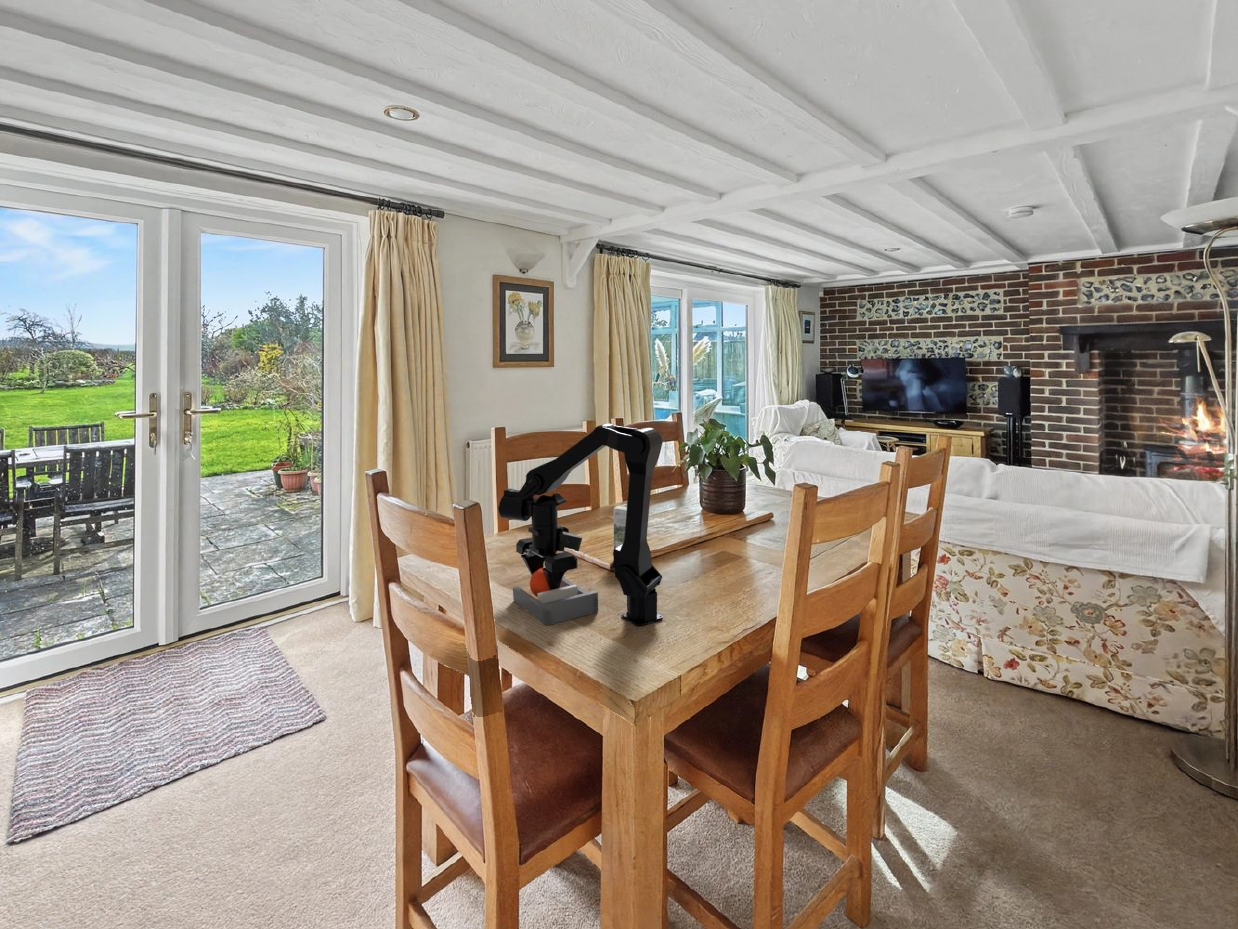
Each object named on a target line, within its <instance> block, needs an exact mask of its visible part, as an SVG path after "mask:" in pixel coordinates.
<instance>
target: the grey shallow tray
mask: <svg viewBox="0 0 1238 929" xmlns="http://www.w3.org/2000/svg"><path fill="white" fill-rule="evenodd" d="M562 581H563V582H562ZM562 581H561V587H560V588H562V587H566V586H571V585H576V586H578V595H575V596H571V597H567V598H563V599H559V600H555V601H551V602H547V603H541V602H540V601H538V600H537V597H536V598H535V597H534V596H532V594H530V593H529V592H527V591H525V590H524V589H523V588H521V587H520V586H518V585H517V586H513V587H512V594H513V595H512V596H513V598H512V599H513V600H514V601H515V602H514V601H513V602H514V603H516V604H517V603H518V604H519V607H521V608H522V609H523V610H525V611H526V612H528V613H529V614H530V613H531V614H530V615H532V614H533V615H534V616H535V617H534V616H533V615H532V616H533V617H534V618H535V619H537V620H538V619H539V620H538V621H539V622H541V623H542V624H544V625H545V626H546V627H547V626H550V625H551V626H552V625H554V624H557V623H558V622H559V623H561V622H565V621H569V620H573V619H577V618H580V617H584V616H588V615H592V614H595V613H598V612H599V592H598V591H596V590H592V591H587V590H586V589H584V588H582V587H581V586H579V585H578V584H576V583H574V582H572V581H570V580H569V579H567V578H565V577H564V576H563V578H562ZM518 604H517V605H518Z"/></svg>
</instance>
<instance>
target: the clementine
mask: <svg viewBox="0 0 1238 929" xmlns="http://www.w3.org/2000/svg"><path fill="white" fill-rule="evenodd" d="M543 568H544V567H543ZM543 568H541V569H538V570H537V571H536V572H534V574H533V575H531V577H530V579H529V588H530V591H531V593H532V594H533V595H534V596H535V597H536V598H537V593H541V592H545V591H549V590H550V589H549V586H548V583H547V581H546V578H545V575H544V572H543ZM562 582H563V581H562ZM560 587H561V584H560ZM560 587H559V588H560Z"/></svg>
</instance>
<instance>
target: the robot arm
mask: <svg viewBox="0 0 1238 929" xmlns="http://www.w3.org/2000/svg"><path fill="white" fill-rule="evenodd" d="M605 447H608V448H611V449H613V450H614V451H617V452H621V453H623V457H624V462H625V464H626V468H627V471H628V475H629V476H628V486H627V488H628V489H627V500H626V504H627V511H626V524H625V538H624V542H623V544H621V545H620V546H618V547H617V548H615V549H614V548H613V552H612V555H613V556H612V557H613V562H612V565H611V567H610V568H611V569H613V571H614V572H613V573H614V577H615V579H617V581H618V582H619V584H620V588H621V591H622V594H623V595H624V596H626V612H622V613H621V617H622V618H623V619H625V620H627V621H629V622H630V623H632V624H634V625H636V626H638V627H640V626H644V625H648V624H651V623H655V622H658V621H661V620H663V619H664V616H663V615H661V614H660V613H658V592H657V589H656V588H657V587H658V586H660V585H661V582H662V579H663V575H662V574H661V573H660V571H658V569H657V568H656V567H655V566H654V565H653V563H652V552H651V548H650V546H649V543H648V529H649V516H650V515H649V513H650V503H651V493H652V492H651V491H652V479H653V478H652V476H653V473H654V471H655V468H656V465H657V463H658V461H659V458H660V455H661V452H662V448H663V437H662V435H661V434H660V433H659V431H658V430H656V429H655V428H653V427H644V428H640V429H638V428H635V427H634V428H633V427H627V426H619V425H614V424H612V423H604V424H600V425H597V426H596V427H595V428H594V429H593V430H592V431H591V432H589V433H588V434H587V435H585V436H584V437H582V438H581V439H580V440H579V441H578V442H575V444H573V445H572V446H571V447H569V448H568V449H567V450H565V451H564V452H563V453H562V454H560V455H559V456H557V457H556V458H555V459H552V460H550V461H548V462H546V463H543V464H541V465H539V466H536V467H534V468H532V469H530V470H529V471H528V472H527V473H526V475H525V482H524V484H522V486H521V488H520V490H519V489H514V488H506V489H504V490H503V495H502V497H501V499H500V500H499V503H498V504H499V505H498V508H497V509H498V514H499V516H500V517H501V519H505V520H512V521H513V520H514V521H521V522H527V521H528V520H531V526H528V527H527V530H528V532H529V533H531V537H527V538H522V539H519V540H518V541H517V543H516V544H515V550H516V553H518V554H519V555H520V558H521V559H522V561H523V562H524V564H525V566H526V568H527V569H528V571H529V573H530V575H531V576H532V575H533V574H534V572H536V571H537V570H538V569H541V568H543V572H544V575H545V578H546V581H547V583H548V586H549V589H550V590H554V589H558V588H559V587H560V584H561V581H562V578H563V577H564V575H565V574H566V572H568V571H572V570H575V569H578V567H579V564H578V563H579V562H578V560H579V559H578V558H577V557H576V556H575V555H573V554H572V553H569V552H567V551H565V549H568V550H569V549H570V550H574V551H575V552H579V551H580V548H581V544H582V542H583V537H582V536H580V535H577V534H574V533H572V532H570V530H569V528H568V527H566V526H564V525H563V526H562V525H559V522H558V521H559V520H558V519H559V518H558V517H559V516H558V506H561V505H564V504H566V503H567V500H566V498H565V497H564V496H562V495H561V494H560V492H556V493H553V494H552V495H546V494H547V493H549V492H552V491H555V490H557V489H558V488H559V487H560V486H561V485H562V484H563V483H564V482H565V481H566V480H567V478H568V476H569V475H570V474H571V472H573V471H574V470H575V469H577V467H579V466H580V465H581V464H583V463H585V462H586V461H588V459H590V458H592V457H593V456H594V455H595V454H597V453H598V452H600V451H601V450H602V449H603V448H605ZM535 496H539V497H535Z"/></svg>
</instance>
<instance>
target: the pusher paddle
mask: <svg viewBox="0 0 1238 929" xmlns="http://www.w3.org/2000/svg"><path fill="white" fill-rule="evenodd" d="M576 585H577V584H576ZM576 585H571V586H566V587H562V588H558V589H554V590H549V591H545V592H541V593H537V597H536V599H537V600H538V601H540V602H541V603H547V602H551V601H555V600H559V599H563V598H567V597H571V596H575V595H578V586H579V585H577V586H576Z"/></svg>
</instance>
